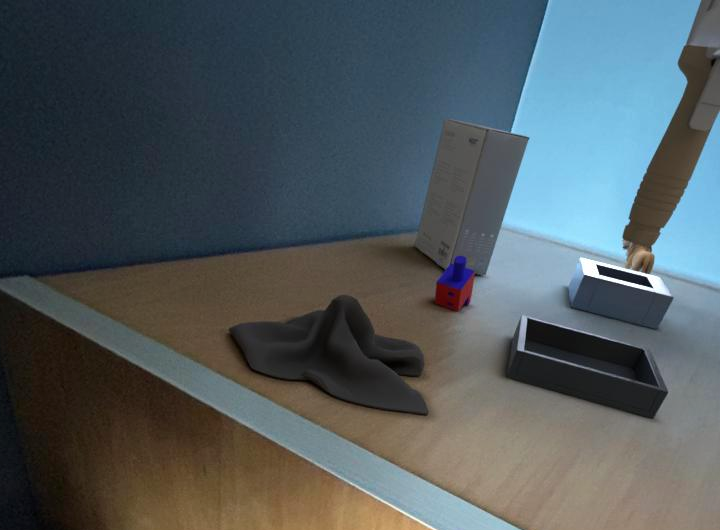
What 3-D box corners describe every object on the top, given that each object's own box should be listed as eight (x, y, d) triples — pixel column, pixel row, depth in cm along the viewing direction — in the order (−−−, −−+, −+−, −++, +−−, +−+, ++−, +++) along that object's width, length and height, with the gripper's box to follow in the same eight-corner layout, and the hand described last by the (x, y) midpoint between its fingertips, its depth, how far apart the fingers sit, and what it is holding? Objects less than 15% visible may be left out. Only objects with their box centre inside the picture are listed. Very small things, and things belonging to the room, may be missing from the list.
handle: (609, 232, 60) (686, 50, 51) (672, 249, 57) (765, 63, 48) (600, 236, 56) (681, 42, 47) (666, 254, 54) (765, 55, 45)
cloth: (195, 344, 54) (196, 278, 50) (306, 308, 67) (313, 254, 64) (397, 438, 46) (416, 368, 43) (477, 377, 60) (497, 319, 56)
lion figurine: (604, 273, 115) (626, 225, 109) (630, 279, 115) (652, 231, 109) (627, 294, 103) (652, 242, 98) (655, 300, 103) (682, 248, 98)
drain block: (645, 307, 98) (660, 277, 95) (657, 329, 87) (674, 297, 84) (568, 287, 100) (580, 257, 97) (570, 307, 89) (584, 274, 86)
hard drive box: (487, 277, 95) (531, 137, 83) (446, 272, 93) (486, 128, 81) (449, 250, 107) (484, 124, 95) (412, 246, 104) (443, 115, 92)
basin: (637, 373, 70) (649, 349, 68) (653, 419, 59) (668, 392, 57) (512, 338, 72) (521, 314, 70) (506, 377, 61) (516, 350, 59)
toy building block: (433, 312, 80) (437, 263, 73) (447, 294, 81) (452, 244, 74) (456, 321, 79) (463, 272, 72) (470, 302, 80) (477, 252, 73)
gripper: (903, -130, 34) (760, 140, 42) (789, -51, 50) (702, 134, 58) (792, -146, 35) (674, 122, 43) (715, -63, 51) (640, 121, 59)
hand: (689, 129), depth 51 cm, fingers closed on handle, 4 cm apart
